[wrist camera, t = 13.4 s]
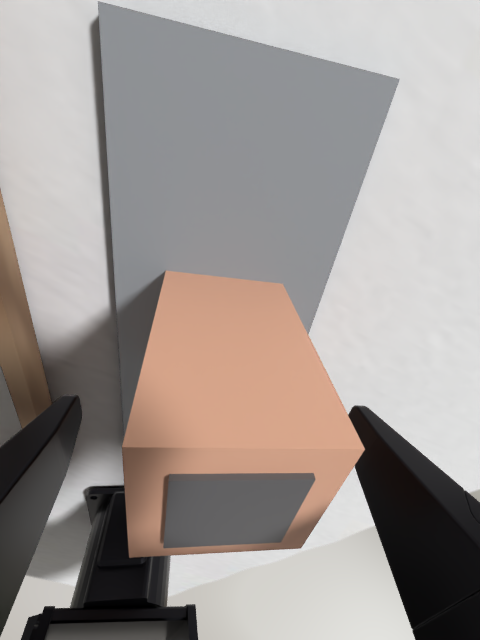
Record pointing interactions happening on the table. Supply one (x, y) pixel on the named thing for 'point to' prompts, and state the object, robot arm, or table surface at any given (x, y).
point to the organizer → (18, 335)
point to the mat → (226, 164)
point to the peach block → (231, 424)
